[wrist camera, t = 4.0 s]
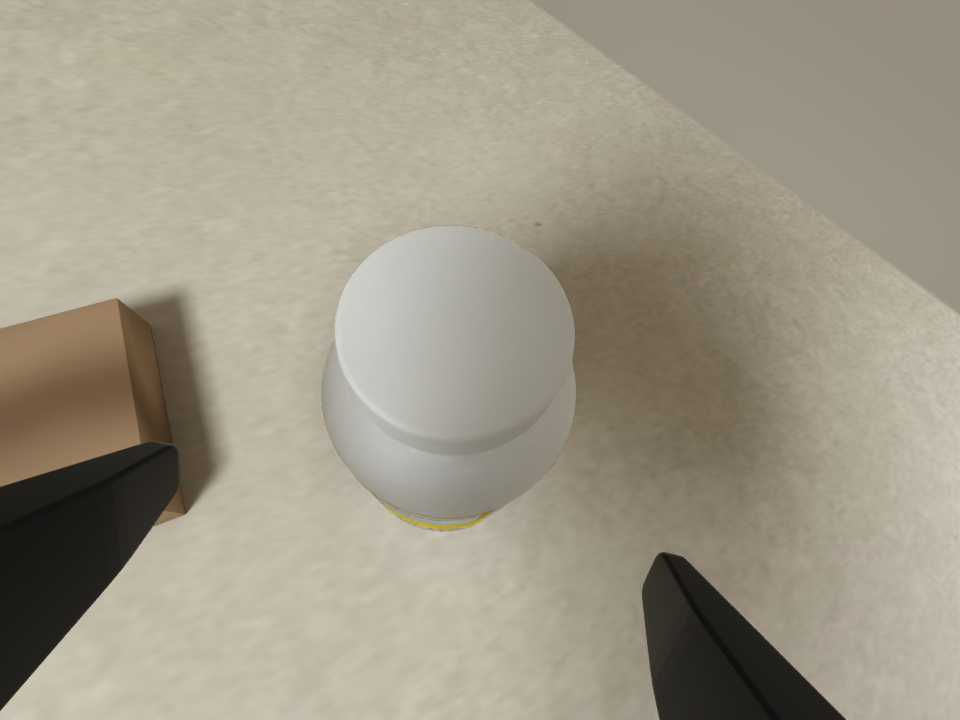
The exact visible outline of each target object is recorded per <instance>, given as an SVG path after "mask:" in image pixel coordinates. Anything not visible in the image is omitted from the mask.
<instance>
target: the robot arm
mask: <svg viewBox="0 0 960 720" xmlns="http://www.w3.org/2000/svg"><path fill="white" fill-rule="evenodd" d="M179 484H180V472H179V452H178V449H177V447H176V446H175V445H173V444H168V443H164V442H159V441H148V442H145V443H142V444H138V445H135V446H132V447H129V448H125V449H122V450H119V451H115V452H112V453H109V454H106V455H102V456H99V457H96V458H92V459H89V460H86V461H83V462H79V463H76V464H73V465H70V466H66V467H63V468H60V469H56V470H53V471H50V472H47V473H43V474H40V475H37V476H33V477H30V478H27V479H24V480H20V481H17V482H14V483H10V484H7V485H4V486H1V487H0V711H1V710H2V708H3V707H4V706H5V705H6V704H7V703H8V701H9V700H10V699H11V698H12V697H13V696H14V694H15V693H16V692H17V691H18V690H19V689H20V688H21V686H22V685H23V684H24V683H25V682H26V681H27V679H28V678H29V677H30V676H31V675H32V674H33V672H34V671H35V670H36V669H37V668H38V667H39V665H40V664H41V663H42V662H43V661H44V660H45V659H46V657H47V656H48V655H49V654H50V653H51V652H52V650H53V649H54V648H55V647H56V646H57V645H58V643H59V642H60V641H61V640H62V639H63V638H64V636H65V635H66V634H67V633H68V632H69V631H70V630H71V628H72V627H73V626H74V625H75V624H76V623H77V621H78V620H79V619H80V618H81V617H82V616H83V614H84V613H85V612H86V611H87V610H88V609H89V607H90V606H91V605H92V604H93V603H94V602H95V601H96V599H97V598H98V597H99V596H100V595H101V594H102V592H103V591H104V590H105V589H106V588H107V587H108V585H109V584H110V583H111V582H112V581H113V580H114V578H115V577H116V576H117V575H118V573H119V572H120V571H121V570H122V569H123V567H124V566H125V565H126V563H127V562H128V561H129V559H130V558H131V557H132V555H133V554H134V552H135V551H136V550H137V548H138V547H139V545H140V544H141V543H142V541H143V540H144V538H145V537H146V536H147V534H148V533H149V531H150V530H151V528H152V527H153V526H154V524H155V523H156V521H157V520H158V519H159V517H160V516H161V514H162V513H163V512H164V510H165V509H166V507H167V506H168V505H169V503H170V502H171V500H172V499H173V497H174V496H175V494H176V493H177V490H178V488H179ZM642 601H643V610H644V619H645V627H646V636H647V645H648V654H649V662H650V671H651V678H652V685H653V690H654V695H655V700H656V705H657V710H658V714H659V719H660V720H846V719H845V718H844V717H843V716H842V715H841V714H840V713H839V712H838V711H837V710H836V709H835V708H834V707H833V706H832V705H831V704H830V703H829V702H828V701H827V700H826V699H825V698H824V697H823V696H822V695H821V694H820V693H819V692H818V691H817V690H816V689H815V688H814V687H813V686H812V685H811V684H810V683H809V682H808V681H807V680H806V679H805V678H804V677H803V676H802V675H801V674H800V673H799V672H798V671H797V670H796V669H795V668H794V667H793V666H792V665H791V664H790V663H789V662H788V661H787V660H786V659H785V658H784V657H783V656H782V655H781V654H780V653H779V652H778V651H777V650H776V649H775V648H774V647H773V646H772V645H771V644H770V643H769V642H768V641H767V640H766V639H765V638H764V637H763V636H762V635H761V634H760V633H759V632H758V631H757V630H756V629H755V628H754V627H753V626H752V625H751V624H750V623H749V622H748V621H747V620H746V619H745V618H744V617H743V616H742V615H741V614H740V613H739V612H738V611H737V610H736V609H735V608H734V607H733V606H732V605H731V604H730V603H729V602H728V601H727V600H726V599H725V598H724V597H723V596H722V595H721V594H720V593H719V592H718V591H717V590H716V589H715V588H714V587H713V586H712V585H711V584H710V583H709V582H708V581H707V580H706V579H705V578H704V577H703V576H702V575H701V574H700V573H699V572H698V571H697V570H696V569H695V568H694V567H693V566H692V565H691V564H690V563H689V562H688V561H687V560H686V559H685V558H684V557H682V556H679V555H675V554H670V553H665V552H661V553H659V554H658V555H657V556H656V558H655V560H654V562H653V564H652V566H651V569H650V571H649V573H648V575H647V577H646V579H645V581H644V584H643V588H642Z"/></svg>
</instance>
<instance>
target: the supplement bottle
mask: <svg viewBox="0 0 960 720" xmlns="http://www.w3.org/2000/svg"><path fill="white" fill-rule="evenodd" d="M574 345H575V328H574V320H573V315H572V311H571V307H570V304H569V301H568V299H567V297H566V294H565V292H564V289H563V288H562V286H561V284H560V283H559V281H558V279H557V278H556V277H555V275H554V274H553V273H552V271H551V270H550V269H549V268H548V267H547V266H546V265H545V264H544V263H543V262H542V261H541V260H540V259H539V258H538V257H537V256H536V255H534V254H533V253H532V252H530V251H529V250H527V249H526V248H525V247H523V246H521V245H520V244H518V243H517V242H515V241H513V240H512V239H509V238H507V237H505V236H503V235H500V234H498V233H495V232H492V231H489V230H485V229H480V228H476V227H470V226H459V225H445V226H435V227H428V228H423V229H419V230H415V231H412V232H409V233H406V234H404V235H401V236H399V237H397V238H395V239H393V240H391V241H389V242H387V243H385V244H384V245H382V246H381V247H379V248H378V249H377V250H375V251H374V252H373V253H372V254H371V255H369V256H368V257H367V258H366V259H365V260H364V261H363V262H362V263H361V265H360V266H359V267H358V268H357V269H356V270H355V272H354V273H353V274H352V276H351V277H350V279H349V281H348V282H347V284H346V286H345V288H344V290H343V292H342V295H341V298H340V301H339V304H338V308H337V312H336V317H335V340H334V342H333V344H332V346H331V349H330V351H329V354H328V357H327V360H326V364H325V368H324V373H323V380H322V408H323V413H324V419H325V423H326V426H327V430H328V432H329V435H330V438H331V440H332V443H333V445H334V447H335V448H336V450H337V452H338V454H339V456H340V457H341V459H342V460H343V462H344V463H345V465H346V466H347V467H348V469H349V470H350V471H351V472H352V474H353V475H354V476H355V477H356V479H357V480H358V481H359V482H360V483H361V484H362V485H363V486H364V487H365V488H366V489H368V490H369V491H370V492H371V493H372V494H373V495H374V496H375V497H376V498H377V499H378V500H379V501H380V502H381V503H382V504H383V505H384V506H385V507H386V508H387V509H388V510H389V511H390V512H392V513H393V514H394V515H396V516H397V517H398V518H400V519H401V520H403V521H405V522H407V523H409V524H411V525H413V526H416V527H419V528H422V529H426V530H432V531H455V530H460V529H465V528H468V527H471V526H473V525H475V524H477V523H480V522H481V521H483V520H485V519H486V518H488V517H490V516H491V515H493V514H494V513H495V512H497V511H498V510H500V509H501V508H502V507H504V506H505V505H506V504H508V503H509V502H511V501H512V500H514V499H515V498H517V497H519V496H520V495H522V494H523V493H524V492H526V491H527V490H528V489H530V488H531V487H532V486H534V485H535V484H536V483H537V482H538V481H539V480H540V479H541V478H542V477H543V476H544V475H545V474H546V473H547V471H548V470H549V469H550V468H551V467H552V465H553V464H554V463H555V461H556V459H557V458H558V456H559V455H560V453H561V451H562V449H563V447H564V445H565V443H566V441H567V438H568V436H569V433H570V430H571V427H572V424H573V419H574V414H575V406H576V381H575V374H574V369H573V364H572V358H573V354H574Z"/></svg>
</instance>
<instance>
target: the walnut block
mask: <svg viewBox="0 0 960 720" xmlns="http://www.w3.org/2000/svg"><path fill="white" fill-rule="evenodd" d="M148 441H159V442H164V443H168V444H172V440H171V435H170V429H169V424H168V419H167V413H166V408H165V403H164V397H163V392H162V387H161V381H160V376H159V371H158V365H157V360H156V355H155V349H154V344H153V339H152V333H151V328H150V325H149V324H148V323H147V322H145V321H144V320H143V319H142V318H141V317H139V316H138V315H137V314H136V313H134V312H133V311H132V310H131V309H130V308H128V307H127V306H126V305H125V304H124V303H122V302H121V301H120V300H119V299H117V298H115V299H111V300H108V301H104V302H100V303H96V304H92V305H89V306H85V307H81V308H77V309H74V310H70V311H66V312H62V313H59V314H55V315H51V316H47V317H43V318H40V319H36V320H32V321H28V322H25V323H21V324H17V325H13V326H9V327H6V328H2V329H0V487H1V486H4V485H7V484H10V483H14V482H17V481H20V480H24V479H27V478H30V477H33V476H37V475H40V474H43V473H47V472H50V471H53V470H56V469H60V468H63V467H66V466H70V465H73V464H76V463H79V462H83V461H86V460H89V459H92V458H96V457H99V456H102V455H106V454H109V453H112V452H115V451H119V450H122V449H125V448H129V447H132V446H135V445H138V444H142V443H145V442H148ZM182 515H185V509H184V504H183V499H182V493H181V488H180V484H179V488H178V490H177V493H176V494H175V496H174V497H173V499H172V500H171V502H170V503H169V505H168V506H167V507H166V509H165V510H164V512H163V513H162V514H161V516H160V517H159V519H158V520H157V521H156V523H155V524H154V526H156V525H158V524H161V523H164V522H166V521H169V520H172V519H174V518H177V517H180V516H182Z"/></svg>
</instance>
